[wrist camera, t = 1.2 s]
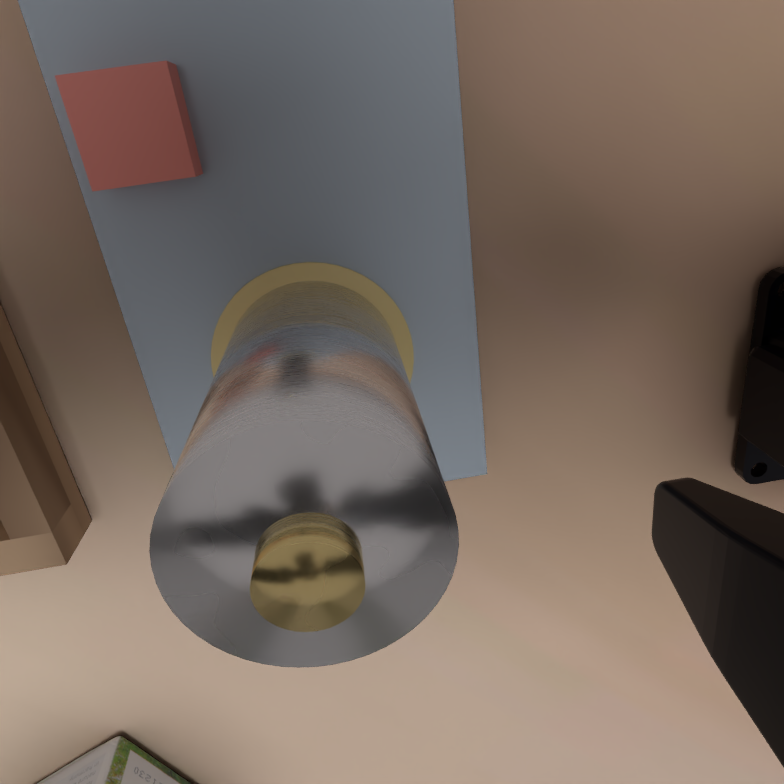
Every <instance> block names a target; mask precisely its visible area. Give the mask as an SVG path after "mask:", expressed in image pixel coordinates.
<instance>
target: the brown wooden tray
mask: <svg viewBox="0 0 784 784" xmlns="http://www.w3.org/2000/svg"><path fill="white" fill-rule="evenodd" d="M91 522H92V520H91V518H90V515H89V513H88V511H87V508H86V506H85V504H84V501H83V499H82V496H81V494H80V492H79V489H78V487H77V485H76V482H75V480H74V477H73V475H72V473H71V470H70V468H69V466H68V463H67V461H66V458H65V456H64V454H63V451H62V449H61V447H60V444H59V442H58V439H57V437H56V435H55V432H54V430H53V428H52V425H51V423H50V420H49V418H48V416H47V413H46V411H45V409H44V406H43V404H42V401H41V399H40V397H39V394H38V392H37V390H36V387H35V385H34V382H33V380H32V378H31V375H30V373H29V371H28V368H27V366H26V363H25V361H24V359H23V356H22V354H21V352H20V349H19V347H18V344H17V342H16V340H15V337H14V335H13V333H12V330H11V328H10V325H9V323H8V321H7V318H6V316H5V314H4V311H3V309H2V306H1V304H0V576H3V575H8V574H14V573H20V572H26V571H32V570H37V569H43V568H49V567H55V566H60V565H66V564H67V563H68V561H69V560H70V558H71V556H72V554H73V553H74V551H75V549H76V547H77V546H78V544H79V542H80V541H81V539H82V537H83V535H84V534H85V532H86V530H87V529H88V527H89V525H90V523H91Z"/></svg>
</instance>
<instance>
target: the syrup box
mask: <svg viewBox="0 0 784 784" xmlns="http://www.w3.org/2000/svg"><path fill="white" fill-rule="evenodd" d="M37 784H191V783H189V782H188V781H187V780H185V779H184V778H182V777H181V776H179V775H178V774H176V773H175V772H173V771H172V770H171V769H169V768H168V767H166V766H165V765H163V764H162V763H160V762H159V761H157V760H156V759H154V758H153V757H151V756H150V755H149V754H147V753H146V752H144V751H143V750H141V749H140V748H139V747H137V746H136V745H134V744H133V743H131V742H129V741H128V740H126V739H125V738H123V737H121V736H117V737H115V738H113V739H111V740H109V741H108V742H106V743H104V744H102V745H100V746H98V747H97V748H95V749H93V750H91V751H89V752H88V753H86V754H84V755H83V756H81V757H79V758H78V759H76V760H74V761H73V762H71V763H70V764H68V765H66V766H64V767H63V768H61V769H60V770H58V771H57V772H55V773H53V774H52V775H50V776H48V777H47V778H45V779H44V780H42V781H40V782H39V783H37Z"/></svg>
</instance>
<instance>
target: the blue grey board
mask: <svg viewBox="0 0 784 784" xmlns="http://www.w3.org/2000/svg"><path fill="white" fill-rule="evenodd" d="M18 3H19V6H20V9H21V12H22V15H23V18H24V21H25V24H26V27H27V30H28V33H29V36H30V39H31V42H32V45H33V48H34V51H35V54H36V57H37V60H38V63H39V66H40V69H41V72H42V75H43V78H44V81H45V84H46V87H47V90H48V93H49V96H50V99H51V102H52V105H53V108H54V111H55V114H56V117H57V120H58V123H59V126H60V129H61V132H62V135H63V138H64V141H65V144H66V147H67V150H68V153H69V156H70V159H71V162H72V165H73V168H74V171H75V174H76V177H77V180H78V183H79V186H80V189H81V192H82V195H83V198H84V201H85V204H86V206H87V209H88V212H89V215H90V218H91V221H92V224H93V227H94V230H95V233H96V236H97V239H98V242H99V245H100V248H101V251H102V254H103V257H104V260H105V263H106V266H107V269H108V272H109V275H110V278H111V281H112V284H113V287H114V290H115V293H116V296H117V299H118V302H119V305H120V308H121V311H122V314H123V317H124V320H125V323H126V326H127V329H128V332H129V335H130V338H131V341H132V344H133V347H134V350H135V353H136V356H137V359H138V362H139V365H140V368H141V371H142V374H143V377H144V380H145V383H146V386H147V389H148V392H149V395H150V398H151V401H152V404H153V407H154V410H155V413H156V416H157V419H158V422H159V425H160V428H161V431H162V434H163V437H164V440H165V443H166V446H167V449H168V452H169V455H170V458H171V461H172V464H173V467H174V469H175V467H176V465H177V462H178V460H179V458H180V455H181V453H182V451H183V448H184V446H185V444H186V441H187V439H188V437H189V434H190V432H191V430H192V427H193V425H194V423H195V420H196V418H197V416H198V413H199V411H200V409H201V406H202V404H203V402H204V399H205V397H206V395H207V392H208V390H209V388H210V385H211V383H212V381H213V378H214V376H215V374H216V371H217V369H218V367H219V364H220V362H221V360H222V357H223V355H224V353H225V350H226V348H227V346H228V343H229V341H230V339H231V336H232V334H233V332H234V329H235V327H236V325H237V323H238V321H239V320H240V318H241V316H242V315H243V314H244V313H245V311H246V310H247V309H248V308H249V307H250V306H251V305H252V304H253V303H254V302H255V301H256V300H257V299H259V298H260V297H262V296H263V295H264V294H266V293H268V292H270V291H271V290H273V289H275V288H278V287H281V286H283V285H286V284H290V283H295V282H300V281H324V282H330V283H334V284H338V285H341V286H344V287H346V288H349V289H351V290H353V291H355V292H357V293H358V294H360V295H361V296H363V297H365V298H366V299H367V300H368V301H369V302H371V303H372V304H373V305H374V306H375V307H376V308H377V309H378V310H379V311H380V313H381V314H382V315H383V317H384V318H385V320H386V321H387V323H388V325H389V327H390V329H391V331H392V334H393V336H394V339H395V342H396V345H397V348H398V351H399V354H400V356H401V359H402V362H403V365H404V368H405V371H406V374H407V377H408V380H409V382H410V385H411V388H412V391H413V394H414V397H415V400H416V403H417V405H418V408H419V411H420V414H421V417H422V420H423V423H424V426H425V428H426V431H427V434H428V437H429V440H430V443H431V446H432V449H433V452H434V454H435V457H436V460H437V463H438V466H439V469H440V472H441V475H442V477H443V480H444V481H449V480H455V479H461V478H467V477H473V476H478V475H484V474H487V465H486V451H485V436H484V422H483V408H482V394H481V380H480V366H479V352H478V338H477V324H476V310H475V296H474V282H473V268H472V254H471V240H470V226H469V212H468V198H467V184H466V170H465V156H464V142H463V127H462V113H461V99H460V85H459V71H458V57H457V43H456V29H455V15H454V1H453V0H18Z"/></svg>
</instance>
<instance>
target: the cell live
mask: <svg viewBox="0 0 784 784" xmlns="http://www.w3.org/2000/svg"><path fill="white" fill-rule="evenodd" d="M458 547H459V538H458V526H457V520H456V515H455V512H454V509H453V506H452V503H451V501H450V498H449V495H448V492H447V489H446V486H445V483H444V480H443V477H442V475H441V472H440V469H439V466H438V463H437V460H436V457H435V454H434V452H433V449H432V446H431V443H430V440H429V437H428V434H427V431H426V428H425V426H424V423H423V420H422V417H421V414H420V411H419V408H418V405H417V403H416V400H415V397H414V394H413V391H412V388H411V385H410V382H409V380H408V377H407V374H406V371H405V368H404V365H403V362H402V359H401V356H400V354H399V351H398V348H397V345H396V342H395V339H394V336H393V334H392V331H391V329H390V327H389V325H388V323H387V321H386V320H385V318H384V317H383V315H382V314H381V313H380V311H379V310H378V309H377V308H376V307H375V306H374V305H373V304H372V303H371V302H369V301H368V300H367V299H366V298H365V297H363V296H361V295H360V294H358V293H357V292H355V291H353V290H351V289H349V288H346V287H344V286H341V285H338V284H334V283H330V282H324V281H300V282H295V283H290V284H286V285H283V286H281V287H278V288H275V289H273V290H271V291H270V292H268V293H266V294H264V295H263V296H262V297H260V298H259V299H257V300H256V301H255V302H254V303H253V304H252V305H251V306H250V307H249V308H248V309H247V310H246V311H245V313H244V314H243V315H242V316H241V318H240V320H239V321H238V323H237V325H236V327H235V329H234V332H233V334H232V336H231V339H230V341H229V343H228V346H227V348H226V350H225V353H224V355H223V357H222V360H221V362H220V364H219V367H218V369H217V371H216V374H215V376H214V378H213V381H212V383H211V385H210V388H209V390H208V392H207V395H206V397H205V399H204V402H203V404H202V406H201V409H200V411H199V413H198V416H197V418H196V420H195V423H194V425H193V427H192V430H191V432H190V434H189V437H188V439H187V441H186V444H185V446H184V448H183V451H182V453H181V455H180V458H179V460H178V462H177V465H176V467H175V469H174V472H173V474H172V476H171V479H170V481H169V483H168V486H167V488H166V490H165V493H164V495H163V497H162V500H161V502H160V505H159V507H158V510H157V512H156V515H155V517H154V521H153V525H152V530H151V534H150V558H151V567H152V571H153V574H154V577H155V581H156V584H157V586H158V588H159V590H160V592H161V594H162V597H163V599H164V600H165V602H166V603H167V604H168V606H169V607H170V609H171V610H172V612H173V613H174V614H175V615H176V616H177V617H178V618H179V620H180V621H181V622H182V623H183V624H184V625H185V626H186V627H188V628H189V629H190V630H191V631H192V632H193V633H195V634H196V635H197V636H198V637H200V638H202V639H203V640H205V641H206V642H208V643H209V644H211V645H212V646H214V647H216V648H219V649H221V650H223V651H225V652H227V653H229V654H232V655H234V656H237V657H240V658H242V659H245V660H249V661H253V662H257V663H261V664H267V665H274V666H281V667H318V666H325V665H333V664H338V663H342V662H346V661H351V660H354V659H357V658H360V657H363V656H366V655H369V654H371V653H373V652H376V651H378V650H380V649H382V648H384V647H386V646H388V645H390V644H392V643H393V642H395V641H397V640H398V639H400V638H401V637H403V636H404V635H406V634H407V633H408V632H410V631H411V630H412V629H414V628H415V627H416V626H417V625H418V624H419V623H420V622H421V621H422V620H423V619H425V618H426V617H427V615H428V614H429V613H430V612H431V611H432V609H433V608H434V607H435V606H436V605H437V603H438V602H439V600H440V599H441V597H442V595H443V594H444V592H445V591H446V589H447V586H448V584H449V582H450V580H451V578H452V575H453V572H454V568H455V565H456V562H457V555H458Z"/></svg>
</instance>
